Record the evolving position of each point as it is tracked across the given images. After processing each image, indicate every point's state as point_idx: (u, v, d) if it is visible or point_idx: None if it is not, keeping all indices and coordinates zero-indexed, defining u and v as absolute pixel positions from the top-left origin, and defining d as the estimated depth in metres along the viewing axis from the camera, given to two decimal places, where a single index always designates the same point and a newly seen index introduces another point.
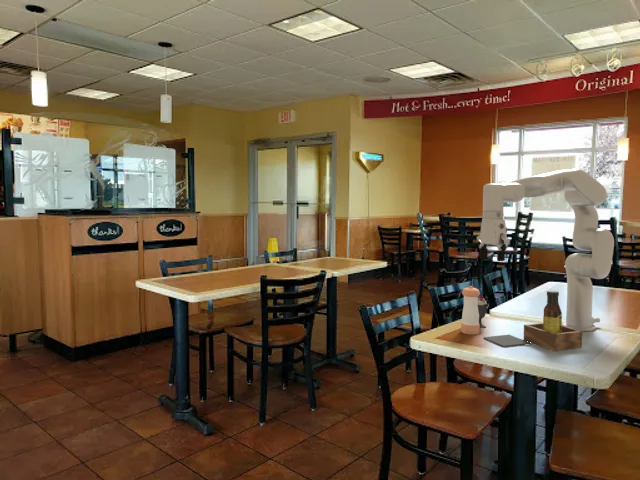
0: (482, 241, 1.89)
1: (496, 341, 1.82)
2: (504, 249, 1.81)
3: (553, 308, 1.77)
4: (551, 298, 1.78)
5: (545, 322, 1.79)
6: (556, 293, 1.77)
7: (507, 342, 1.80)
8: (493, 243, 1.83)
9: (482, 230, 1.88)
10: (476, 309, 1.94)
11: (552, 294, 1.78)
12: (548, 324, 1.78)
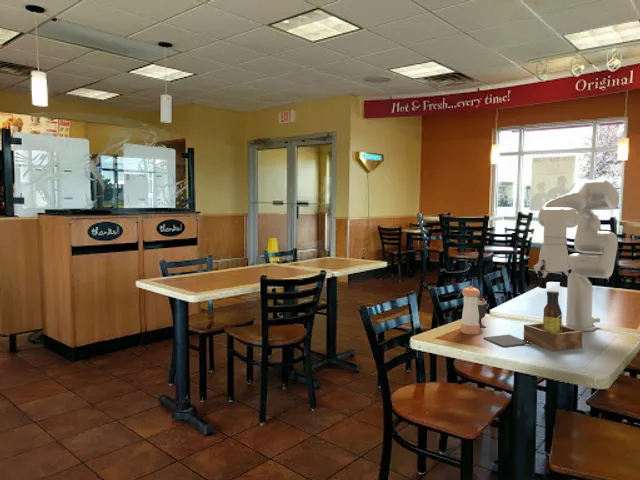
0: (550, 269, 1.75)
1: (496, 341, 1.82)
2: None
3: (553, 308, 1.77)
4: (551, 298, 1.78)
5: (545, 322, 1.79)
6: (556, 293, 1.77)
7: (507, 342, 1.80)
8: (564, 270, 1.77)
9: (552, 258, 1.75)
10: (476, 309, 1.94)
11: (552, 294, 1.78)
12: (548, 324, 1.78)
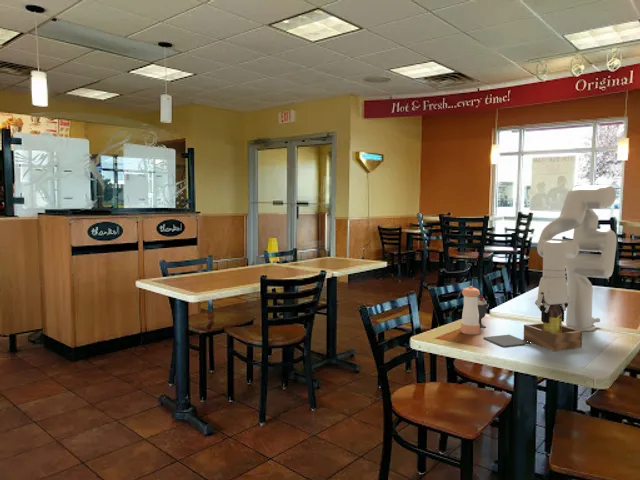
0: (550, 302, 1.76)
1: (496, 341, 1.82)
2: None
3: (553, 308, 1.77)
4: None
5: None
6: None
7: (507, 342, 1.80)
8: (563, 302, 1.78)
9: (551, 291, 1.76)
10: (476, 309, 1.94)
11: None
12: (548, 324, 1.78)
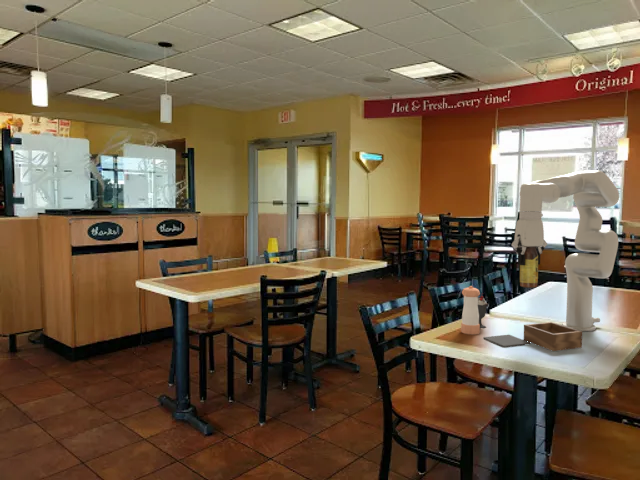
0: (526, 244, 1.76)
1: (496, 341, 1.82)
2: None
3: (529, 250, 1.77)
4: None
5: (522, 265, 1.79)
6: None
7: (507, 342, 1.80)
8: (539, 244, 1.78)
9: (527, 232, 1.76)
10: (476, 309, 1.94)
11: None
12: (525, 267, 1.78)
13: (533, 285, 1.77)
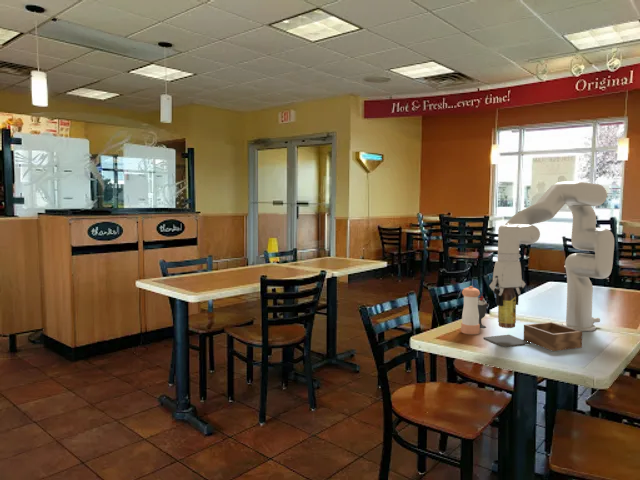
0: (504, 285, 1.79)
1: (496, 341, 1.82)
2: None
3: (507, 291, 1.80)
4: None
5: None
6: None
7: (507, 342, 1.80)
8: (517, 285, 1.81)
9: (505, 274, 1.79)
10: (476, 309, 1.94)
11: None
12: (502, 307, 1.81)
13: (511, 325, 1.80)
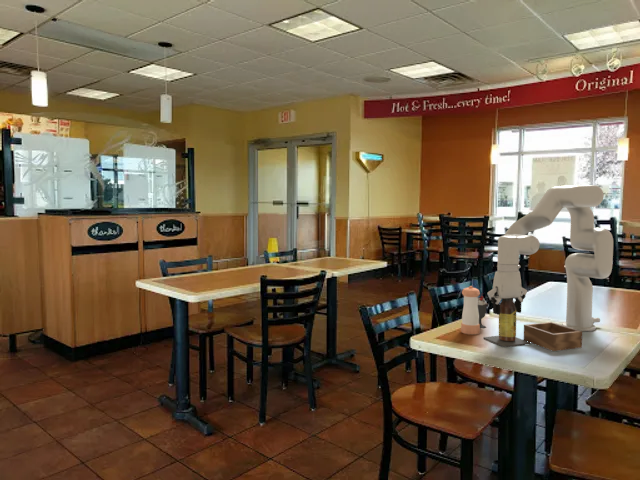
0: (503, 296, 1.79)
1: (496, 341, 1.82)
2: None
3: (507, 305, 1.81)
4: None
5: (500, 318, 1.82)
6: None
7: (507, 342, 1.80)
8: (517, 296, 1.81)
9: (504, 284, 1.79)
10: (476, 309, 1.94)
11: None
12: (503, 321, 1.81)
13: (511, 339, 1.81)
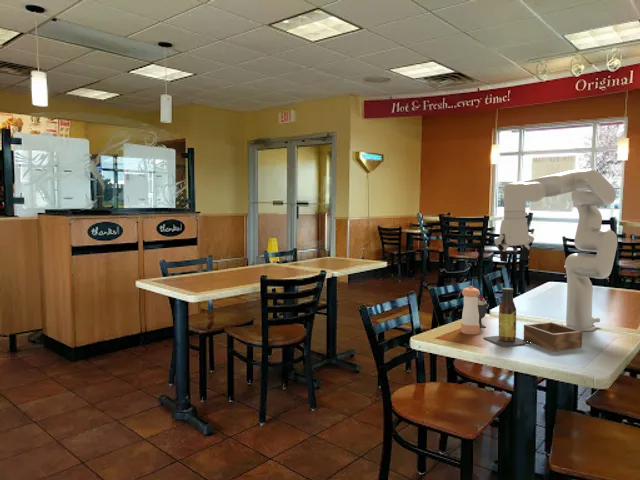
0: (511, 243, 1.80)
1: (496, 341, 1.82)
2: None
3: (507, 305, 1.81)
4: (506, 295, 1.81)
5: (500, 318, 1.82)
6: (510, 290, 1.81)
7: (507, 342, 1.80)
8: (524, 243, 1.81)
9: (511, 231, 1.79)
10: (476, 309, 1.94)
11: (506, 291, 1.81)
12: (503, 321, 1.81)
13: (511, 339, 1.81)
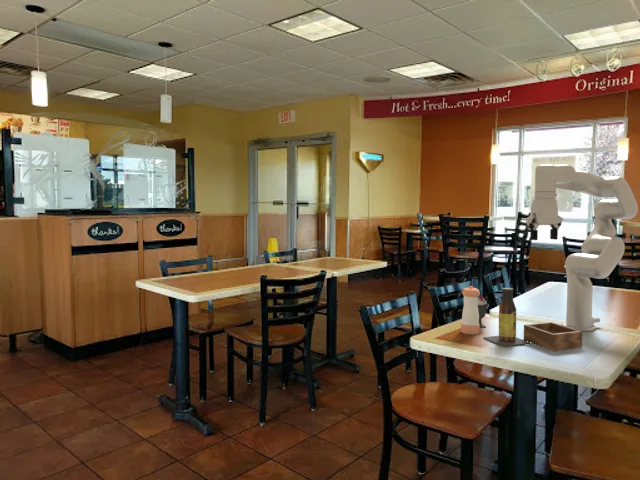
0: (541, 222, 1.87)
1: (496, 341, 1.82)
2: None
3: (507, 305, 1.81)
4: (506, 295, 1.81)
5: (500, 318, 1.82)
6: (510, 290, 1.81)
7: (507, 342, 1.80)
8: (554, 222, 1.89)
9: (542, 211, 1.87)
10: (476, 309, 1.94)
11: (506, 291, 1.81)
12: (503, 321, 1.81)
13: (511, 339, 1.81)
